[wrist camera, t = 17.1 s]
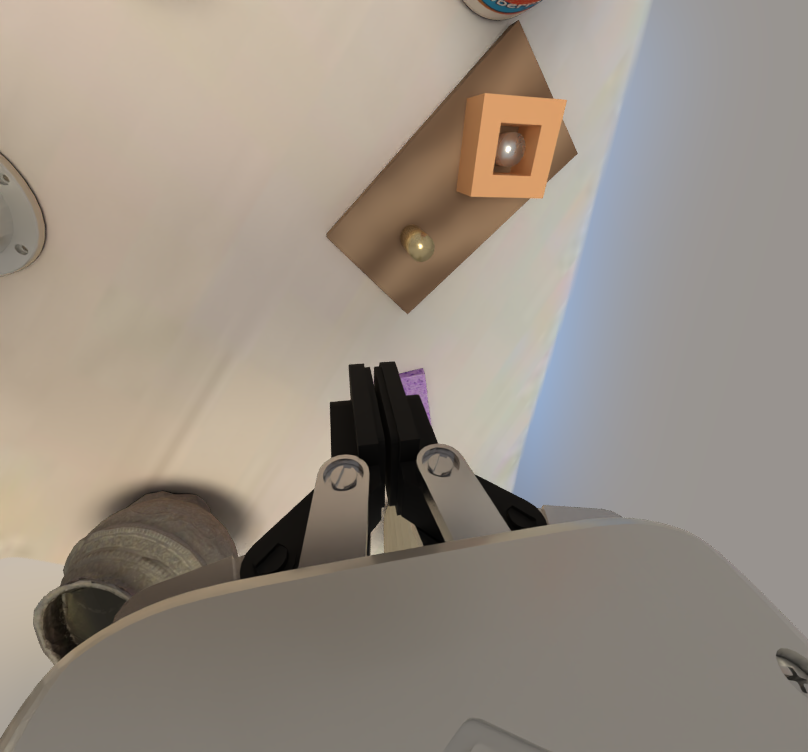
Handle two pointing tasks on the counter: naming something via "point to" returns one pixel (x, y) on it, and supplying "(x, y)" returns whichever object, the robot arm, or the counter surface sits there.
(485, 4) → the fruit juice
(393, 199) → the walnut board
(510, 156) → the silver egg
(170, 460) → the counter surface
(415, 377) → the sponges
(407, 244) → the short gold cylinder
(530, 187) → the collar
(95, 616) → the pot
